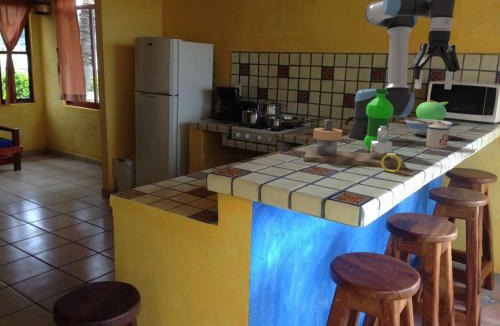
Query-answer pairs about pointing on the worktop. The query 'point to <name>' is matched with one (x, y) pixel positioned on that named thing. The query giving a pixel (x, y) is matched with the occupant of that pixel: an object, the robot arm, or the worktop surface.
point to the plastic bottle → (377, 116)
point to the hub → (381, 145)
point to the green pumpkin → (431, 110)
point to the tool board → (344, 154)
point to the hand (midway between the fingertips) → (432, 89)
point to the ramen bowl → (422, 124)
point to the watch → (391, 156)
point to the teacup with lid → (437, 135)
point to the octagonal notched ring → (327, 134)
